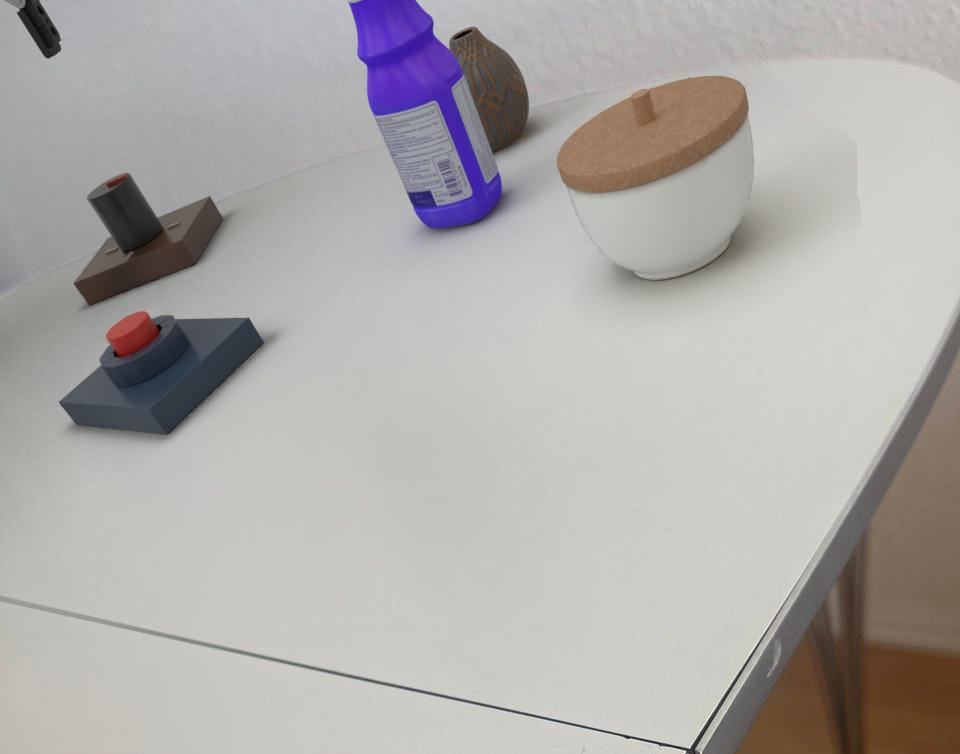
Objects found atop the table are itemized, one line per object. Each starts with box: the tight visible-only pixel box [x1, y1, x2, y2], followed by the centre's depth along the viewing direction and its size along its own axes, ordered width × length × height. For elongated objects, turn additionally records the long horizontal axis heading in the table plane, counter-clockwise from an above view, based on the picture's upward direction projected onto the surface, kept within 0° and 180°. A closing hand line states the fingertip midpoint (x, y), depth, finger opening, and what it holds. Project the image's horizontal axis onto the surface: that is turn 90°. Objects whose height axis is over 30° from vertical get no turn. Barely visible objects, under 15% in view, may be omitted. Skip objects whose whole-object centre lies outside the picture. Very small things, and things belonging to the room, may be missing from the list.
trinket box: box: [556, 75, 755, 281], centre depth 57 cm, size 11×11×9 cm
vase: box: [448, 26, 530, 152], centre depth 83 cm, size 7×7×9 cm
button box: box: [58, 314, 265, 435], centre depth 76 cm, size 13×11×4 cm
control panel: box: [73, 195, 224, 306], centre depth 100 cm, size 13×10×3 cm
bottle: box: [347, 0, 503, 229], centre depth 72 cm, size 7×6×17 cm
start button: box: [105, 310, 160, 357], centre depth 74 cm, size 4×4×2 cm
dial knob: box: [86, 172, 163, 252], centre depth 97 cm, size 5×5×6 cm
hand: (15, 74), depth 84 cm, fingers open, 8 cm apart
